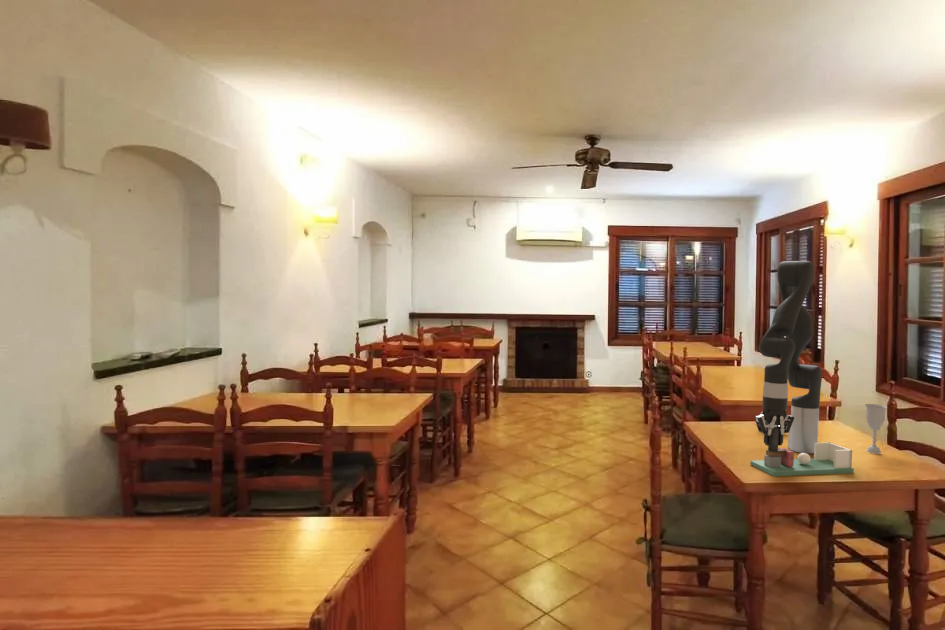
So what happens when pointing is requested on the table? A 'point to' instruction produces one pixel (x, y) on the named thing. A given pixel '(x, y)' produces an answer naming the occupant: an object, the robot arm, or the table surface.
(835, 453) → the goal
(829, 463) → the playfield
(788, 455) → the slider rod
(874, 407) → the chalice
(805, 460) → the ball
